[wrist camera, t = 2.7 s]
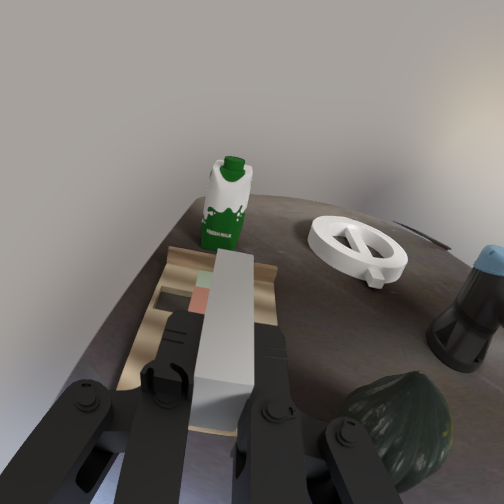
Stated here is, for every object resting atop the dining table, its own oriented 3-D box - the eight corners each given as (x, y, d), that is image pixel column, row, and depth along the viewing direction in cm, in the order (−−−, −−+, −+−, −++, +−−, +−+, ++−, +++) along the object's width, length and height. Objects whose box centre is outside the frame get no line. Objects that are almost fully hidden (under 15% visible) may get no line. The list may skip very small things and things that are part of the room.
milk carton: (196, 249, 65) (211, 157, 56) (202, 231, 73) (216, 148, 63) (236, 257, 66) (257, 166, 56) (238, 238, 74) (256, 156, 64)
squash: (431, 521, 17) (497, 392, 20) (302, 494, 21) (373, 352, 24) (399, 477, 30) (445, 382, 33) (305, 450, 34) (352, 351, 38)
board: (167, 266, 57) (169, 246, 55) (271, 286, 59) (277, 266, 57) (112, 412, 29) (107, 391, 27) (282, 440, 31) (294, 422, 29)
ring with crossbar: (341, 225, 99) (345, 212, 97) (412, 268, 83) (419, 254, 80) (286, 238, 80) (291, 221, 78) (375, 297, 64) (383, 279, 62)
